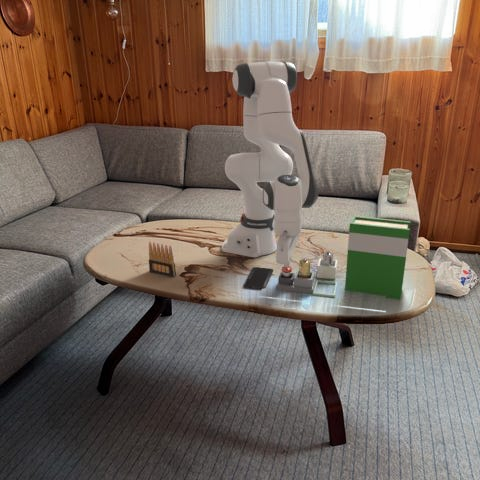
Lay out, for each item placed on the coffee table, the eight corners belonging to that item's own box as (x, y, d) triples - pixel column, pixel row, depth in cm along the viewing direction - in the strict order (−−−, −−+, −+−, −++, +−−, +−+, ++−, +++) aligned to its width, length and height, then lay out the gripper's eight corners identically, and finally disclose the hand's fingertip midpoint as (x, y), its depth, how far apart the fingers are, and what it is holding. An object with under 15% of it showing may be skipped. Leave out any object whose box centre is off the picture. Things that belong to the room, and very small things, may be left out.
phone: (273, 269, 167) (265, 288, 154) (273, 271, 168) (265, 291, 154) (252, 266, 169) (242, 285, 156) (252, 269, 170) (242, 288, 156)
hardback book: (402, 289, 153) (410, 221, 144) (400, 299, 147) (409, 229, 137) (348, 281, 159) (353, 215, 150) (344, 291, 153) (349, 223, 143)
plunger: (280, 278, 154) (280, 269, 153) (282, 274, 157) (282, 265, 156) (290, 279, 153) (291, 270, 152) (292, 275, 156) (292, 266, 155)
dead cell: (321, 276, 162) (322, 253, 158) (322, 271, 165) (323, 249, 162) (331, 277, 161) (333, 254, 157) (332, 272, 164) (334, 250, 161)
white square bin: (317, 278, 161) (317, 265, 159) (319, 270, 167) (319, 258, 165) (335, 280, 159) (335, 267, 158) (336, 272, 165) (337, 260, 163)
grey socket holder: (276, 290, 154) (277, 277, 152) (281, 280, 161) (281, 267, 159) (312, 295, 150) (313, 281, 149) (316, 283, 158) (316, 270, 156)
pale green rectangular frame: (312, 296, 150) (313, 292, 149) (316, 282, 158) (316, 279, 158) (334, 298, 148) (334, 295, 148) (337, 285, 156) (337, 282, 156)
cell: (298, 284, 153) (298, 261, 150) (299, 279, 156) (300, 256, 153) (308, 285, 152) (309, 262, 149) (310, 281, 155) (311, 257, 152)
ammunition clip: (176, 275, 166) (173, 245, 161) (173, 277, 164) (170, 246, 160) (152, 269, 171) (149, 240, 166) (149, 271, 169) (146, 242, 164)
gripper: (291, 238, 138) (291, 280, 143) (302, 216, 156) (301, 254, 161) (271, 237, 140) (271, 277, 145) (284, 215, 158) (283, 252, 163)
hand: (287, 265), depth 153 cm, fingers closed
